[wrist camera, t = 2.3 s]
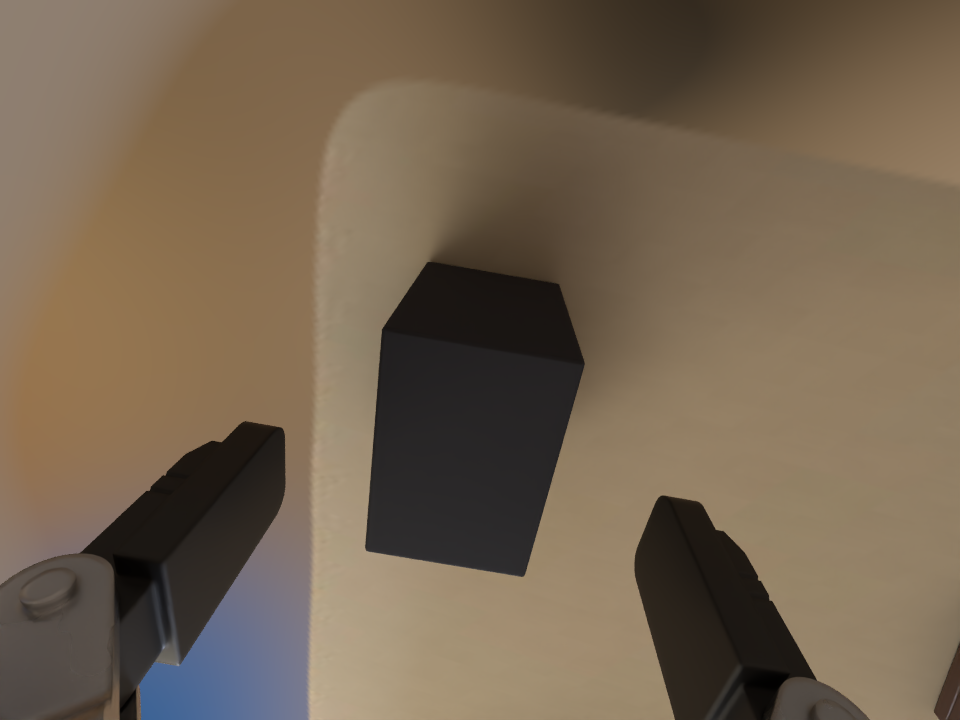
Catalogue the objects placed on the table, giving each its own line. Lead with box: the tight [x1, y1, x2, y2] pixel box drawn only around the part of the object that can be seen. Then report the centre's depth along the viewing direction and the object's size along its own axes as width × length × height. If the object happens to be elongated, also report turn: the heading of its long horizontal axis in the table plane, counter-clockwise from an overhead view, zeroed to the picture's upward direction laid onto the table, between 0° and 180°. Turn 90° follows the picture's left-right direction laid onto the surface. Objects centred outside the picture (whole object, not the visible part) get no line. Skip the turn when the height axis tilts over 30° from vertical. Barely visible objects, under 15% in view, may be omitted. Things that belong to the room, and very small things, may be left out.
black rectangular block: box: [365, 262, 585, 577], centre depth 13 cm, size 4×6×6 cm, turn 171°
